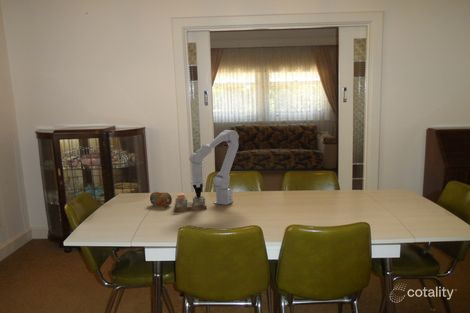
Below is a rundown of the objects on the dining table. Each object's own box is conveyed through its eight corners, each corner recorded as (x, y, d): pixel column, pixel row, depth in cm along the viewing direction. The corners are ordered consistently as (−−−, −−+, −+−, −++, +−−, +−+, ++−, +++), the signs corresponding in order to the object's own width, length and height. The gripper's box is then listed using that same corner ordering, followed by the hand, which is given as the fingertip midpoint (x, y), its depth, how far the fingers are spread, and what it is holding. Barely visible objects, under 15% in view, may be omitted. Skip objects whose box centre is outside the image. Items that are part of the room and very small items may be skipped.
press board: (205, 204, 213) (204, 194, 212) (206, 209, 204) (206, 198, 203) (175, 206, 211) (174, 197, 210) (174, 211, 201) (174, 201, 200)
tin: (150, 205, 217) (148, 191, 216) (153, 203, 220) (152, 190, 219) (169, 207, 210) (168, 193, 209) (173, 206, 213) (172, 192, 212)
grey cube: (202, 202, 210) (201, 195, 209) (202, 204, 206) (202, 197, 205) (195, 202, 209) (195, 196, 209) (195, 204, 205) (195, 197, 205)
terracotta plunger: (184, 199, 208) (184, 193, 208) (184, 201, 204) (184, 194, 204) (177, 200, 208) (177, 193, 207) (177, 202, 204) (177, 195, 203)
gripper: (189, 171, 212) (191, 194, 214) (190, 176, 197) (191, 200, 199) (201, 171, 212) (203, 193, 215) (203, 175, 198) (204, 199, 200)
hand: (198, 196), depth 207 cm, fingers closed, pressing on grey cube
